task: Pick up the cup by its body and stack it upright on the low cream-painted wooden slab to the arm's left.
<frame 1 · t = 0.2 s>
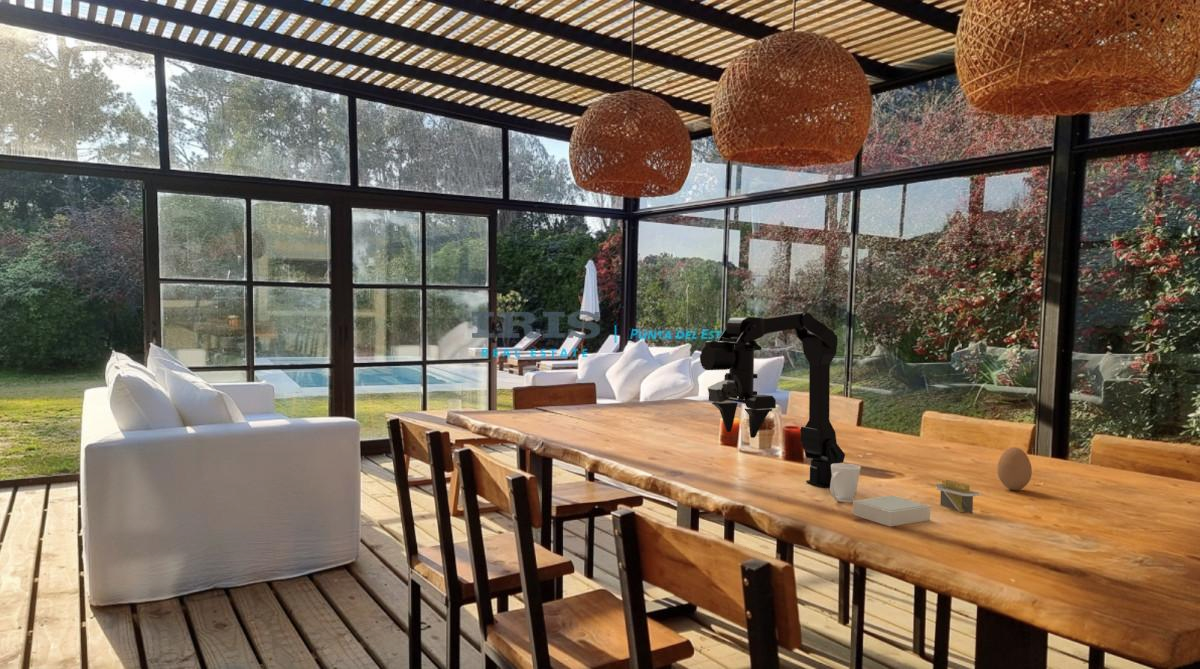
hand: (740, 434, 176), 14 cm above the table, fingers open, 9 cm apart
cup: (841, 501, 172), on the table
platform: (953, 512, 166), on the table
slab: (890, 517, 159), on the table
egg: (1013, 490, 187), on the table
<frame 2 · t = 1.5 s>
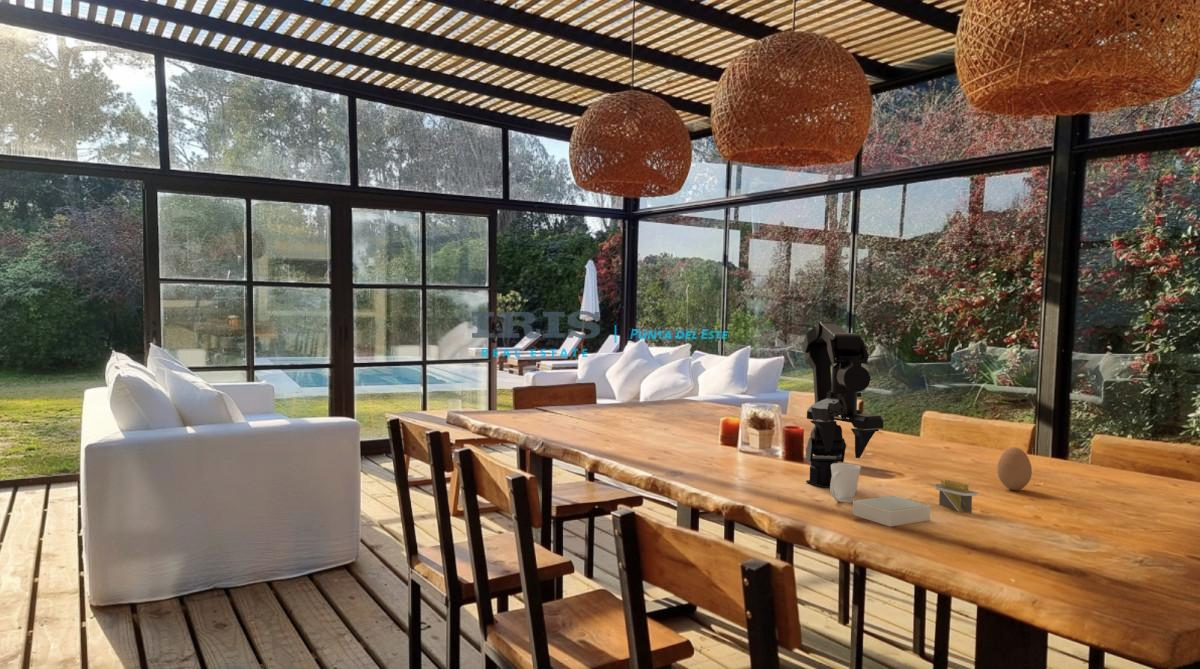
hand: (842, 454, 172), 11 cm above the table, fingers open, 9 cm apart
nothing on the table moved.
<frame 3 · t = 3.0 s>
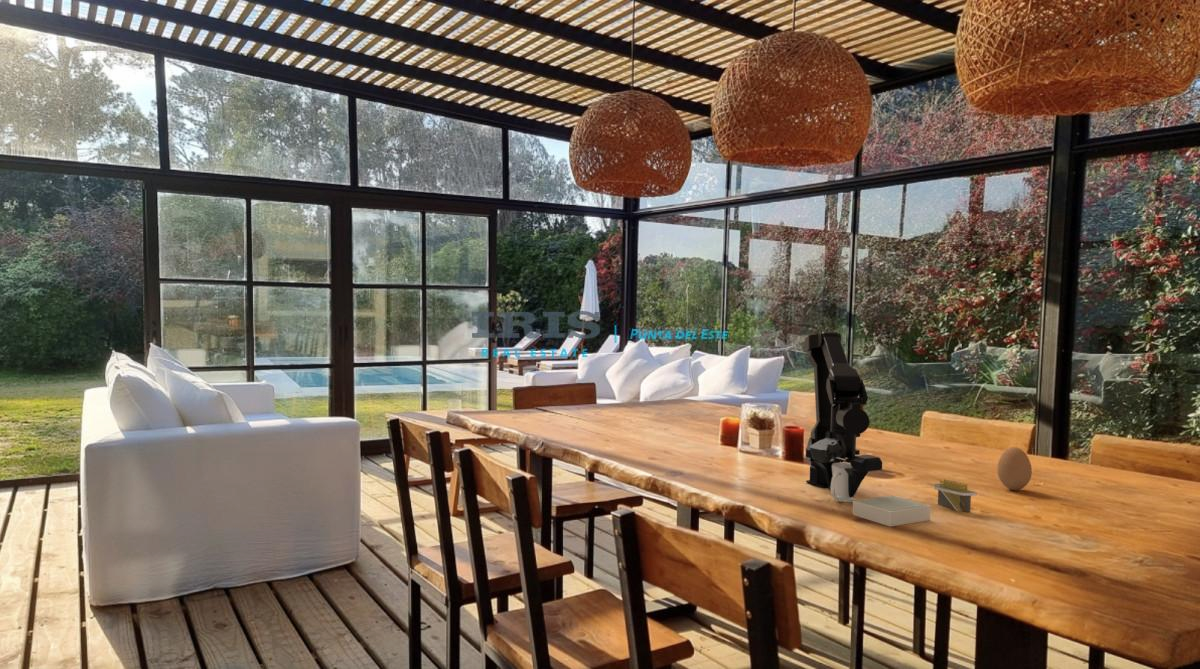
hand: (841, 494, 172), 2 cm above the table, fingers closed on cup, 6 cm apart
cup: (841, 501, 172), on the table, touching gripper
everything else where it was.
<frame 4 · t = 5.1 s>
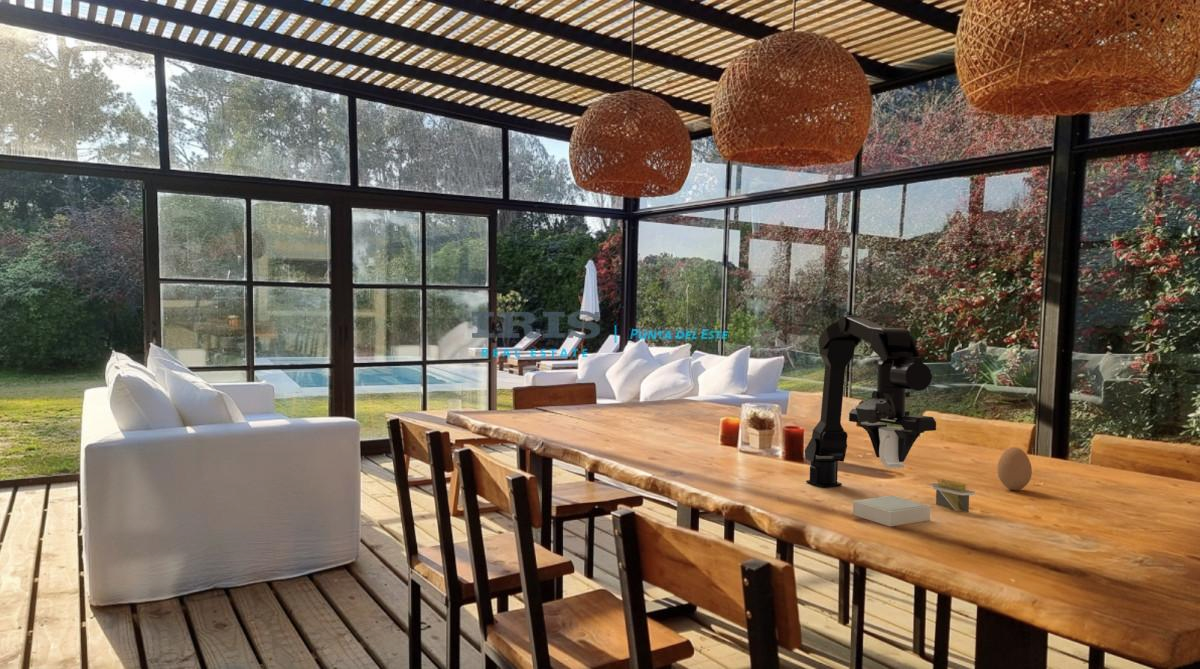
hand: (889, 459, 159), 12 cm above the table, fingers closed on cup, 6 cm apart
cup: (890, 468, 158), point 11 cm above the table, touching gripper
everything else where it was.
when the fingers open (6 cm above the table, at t = 6.7 s): cup drops 1 cm, resting on slab.
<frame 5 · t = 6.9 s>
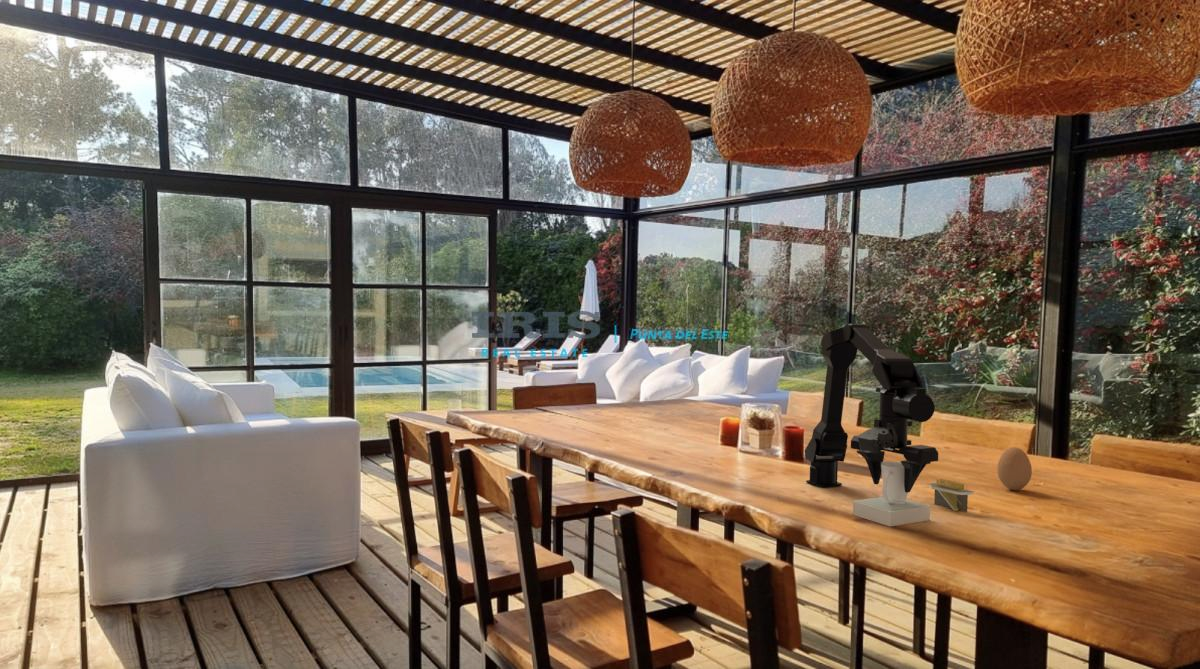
hand: (891, 488, 158), 6 cm above the table, fingers open, 8 cm apart
cup: (892, 503, 158), point 3 cm above the table, touching slab
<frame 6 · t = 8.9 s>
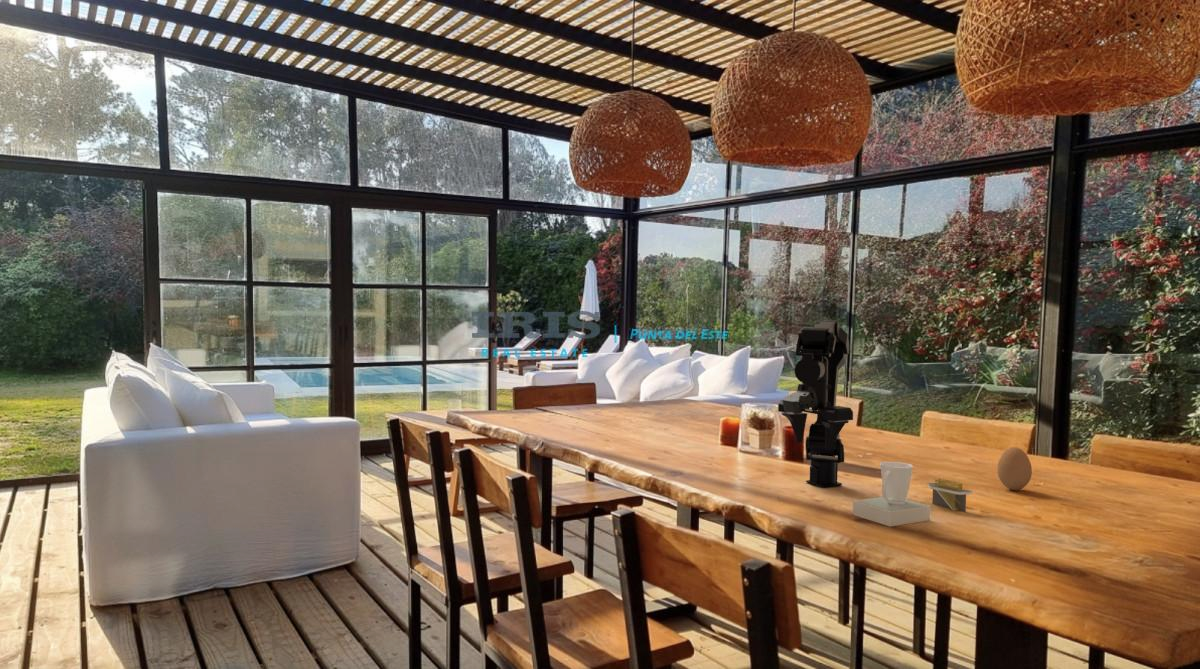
hand: (813, 446, 174), 12 cm above the table, fingers open, 9 cm apart
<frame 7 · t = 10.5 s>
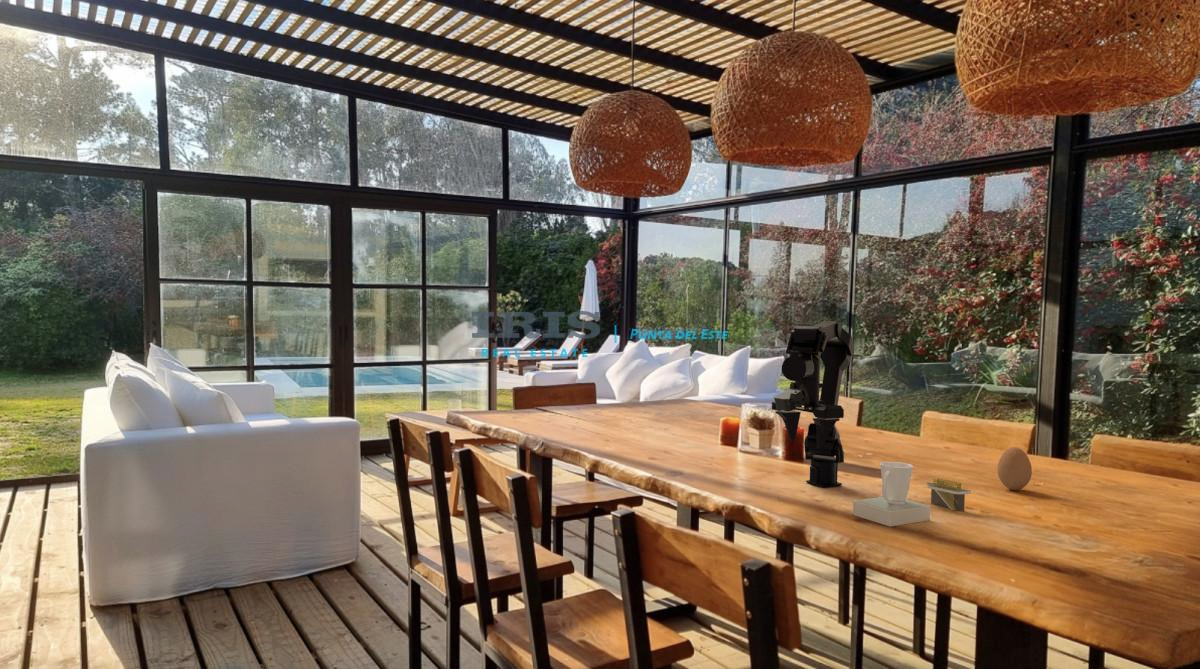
hand: (805, 444, 176), 13 cm above the table, fingers open, 9 cm apart
at the end: cup 0.3 cm from the slab (horizontally); cup point 3.0 cm above the table; cup tilted 0° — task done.
